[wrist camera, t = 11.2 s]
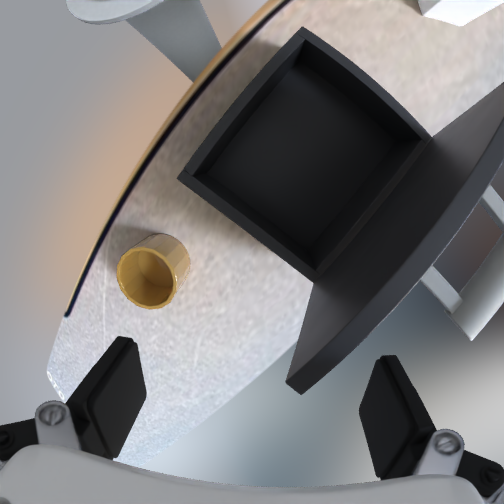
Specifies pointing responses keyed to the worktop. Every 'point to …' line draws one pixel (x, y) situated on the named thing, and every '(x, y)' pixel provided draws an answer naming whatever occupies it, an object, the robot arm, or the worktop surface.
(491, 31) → the worktop surface
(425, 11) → the milk
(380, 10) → the worktop surface
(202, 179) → the dark grey storage bin
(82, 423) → the robot arm
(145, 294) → the cup
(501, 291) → the lid
